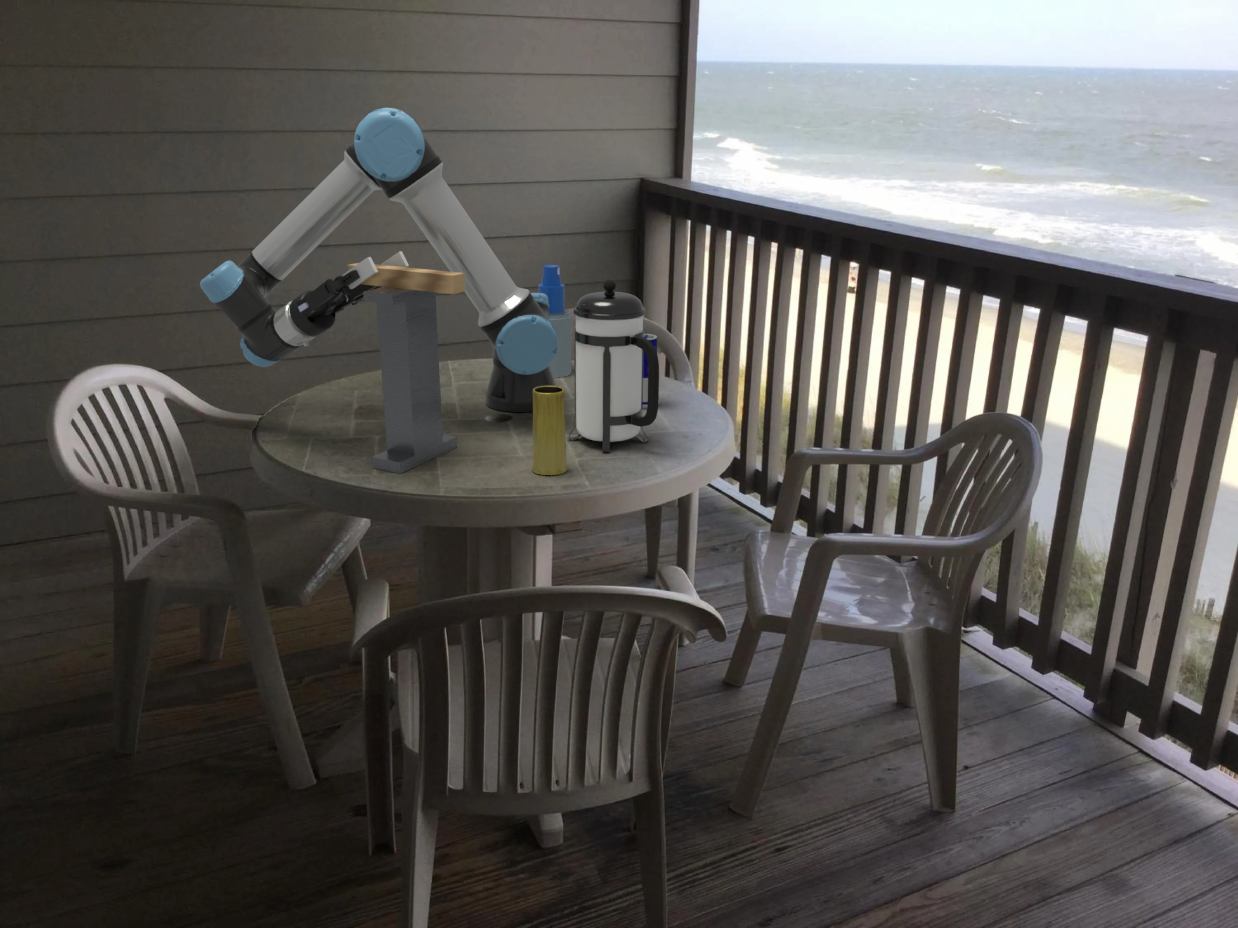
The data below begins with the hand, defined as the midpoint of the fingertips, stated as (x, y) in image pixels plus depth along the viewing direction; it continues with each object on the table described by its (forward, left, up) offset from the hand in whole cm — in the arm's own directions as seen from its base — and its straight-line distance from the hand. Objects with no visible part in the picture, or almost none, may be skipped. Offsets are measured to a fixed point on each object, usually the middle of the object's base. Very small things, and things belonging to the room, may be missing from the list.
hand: (388, 261), depth 165 cm
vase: (-26, +11, -34) cm, 44 cm away
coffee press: (-39, -3, -34) cm, 52 cm away
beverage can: (-48, -26, -34) cm, 64 cm away
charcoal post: (-3, +2, -34) cm, 34 cm away
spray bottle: (-31, -55, -34) cm, 72 cm away
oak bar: (-3, +2, -4) cm, 5 cm away
